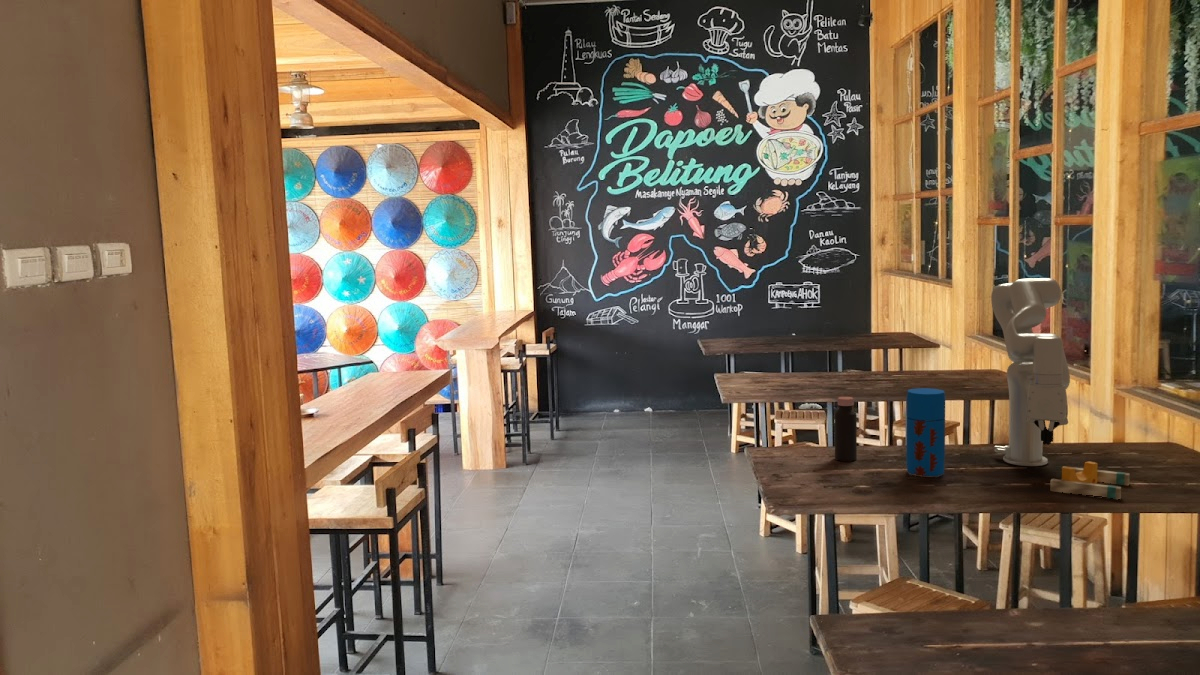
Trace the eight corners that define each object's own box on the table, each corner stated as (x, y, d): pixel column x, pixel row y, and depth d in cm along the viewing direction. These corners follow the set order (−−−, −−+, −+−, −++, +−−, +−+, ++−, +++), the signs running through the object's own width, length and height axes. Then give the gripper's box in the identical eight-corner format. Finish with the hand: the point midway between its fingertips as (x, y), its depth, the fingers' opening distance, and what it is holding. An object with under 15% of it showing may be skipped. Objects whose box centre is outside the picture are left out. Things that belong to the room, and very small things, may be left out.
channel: (1050, 491, 261) (1050, 480, 260) (1063, 476, 275) (1063, 465, 275) (1119, 499, 251) (1120, 488, 250) (1129, 483, 265) (1129, 473, 265)
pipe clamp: (1082, 482, 269) (1083, 460, 268) (1097, 485, 265) (1097, 463, 265) (1055, 488, 263) (1056, 466, 263) (1070, 492, 260) (1070, 469, 259)
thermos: (917, 466, 291) (917, 387, 288) (950, 472, 283) (951, 390, 281) (900, 474, 283) (900, 392, 281) (934, 479, 276) (934, 395, 273)
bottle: (839, 455, 308) (839, 395, 306) (859, 458, 304) (859, 397, 302) (831, 460, 303) (831, 398, 300) (852, 462, 299) (851, 400, 296)
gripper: (1016, 380, 268) (1015, 443, 269) (1074, 382, 259) (1073, 448, 260) (1022, 376, 274) (1021, 439, 275) (1079, 379, 265) (1078, 444, 266)
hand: (1046, 443), depth 268 cm, fingers closed
